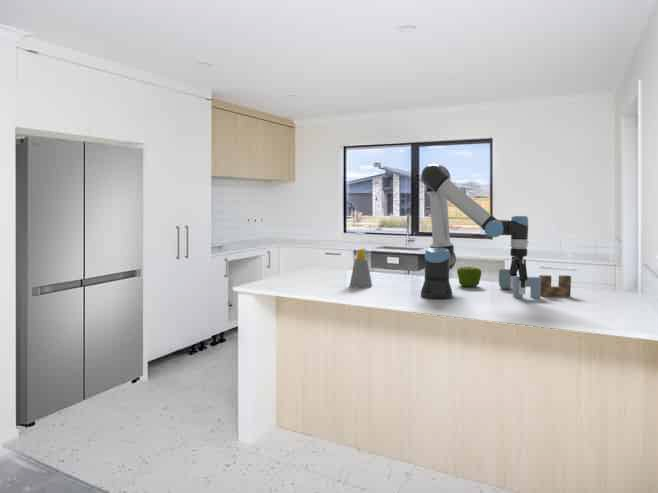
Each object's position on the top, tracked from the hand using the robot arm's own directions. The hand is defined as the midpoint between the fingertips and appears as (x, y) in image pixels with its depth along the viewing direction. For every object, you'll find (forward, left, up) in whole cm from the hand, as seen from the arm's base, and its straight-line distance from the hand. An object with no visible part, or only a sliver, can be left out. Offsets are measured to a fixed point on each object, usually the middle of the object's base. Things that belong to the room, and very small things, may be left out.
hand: (517, 291), depth 242 cm
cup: (+1, +24, -3) cm, 24 cm away
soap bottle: (-76, +28, -3) cm, 81 cm away
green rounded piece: (-17, +31, -3) cm, 35 cm away
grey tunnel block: (+4, 0, -3) cm, 5 cm away
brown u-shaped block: (+19, +5, -3) cm, 20 cm away
